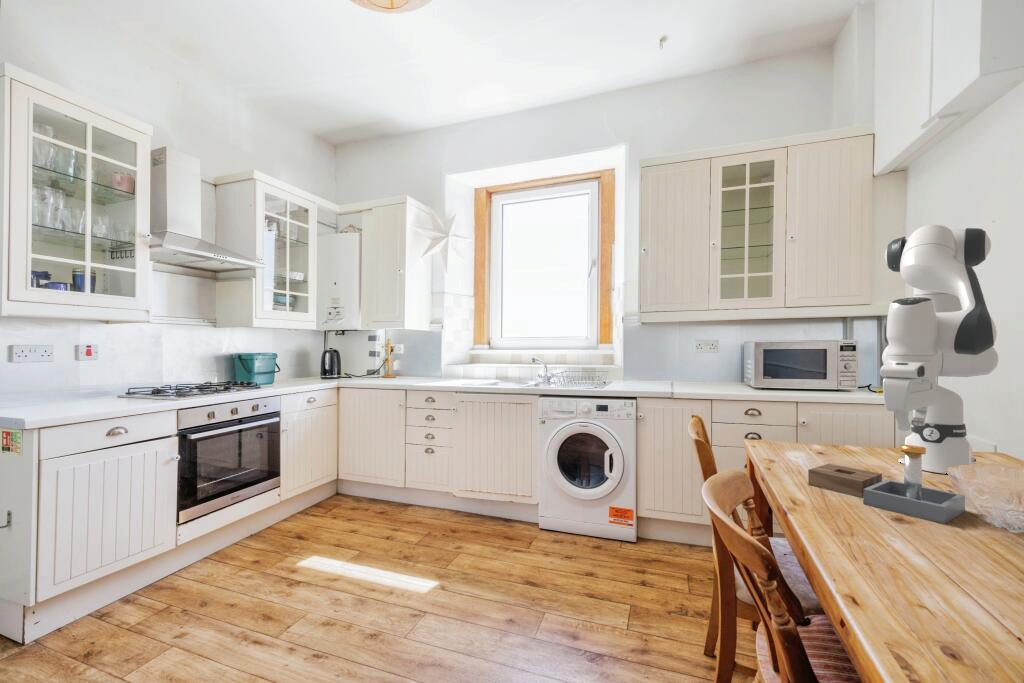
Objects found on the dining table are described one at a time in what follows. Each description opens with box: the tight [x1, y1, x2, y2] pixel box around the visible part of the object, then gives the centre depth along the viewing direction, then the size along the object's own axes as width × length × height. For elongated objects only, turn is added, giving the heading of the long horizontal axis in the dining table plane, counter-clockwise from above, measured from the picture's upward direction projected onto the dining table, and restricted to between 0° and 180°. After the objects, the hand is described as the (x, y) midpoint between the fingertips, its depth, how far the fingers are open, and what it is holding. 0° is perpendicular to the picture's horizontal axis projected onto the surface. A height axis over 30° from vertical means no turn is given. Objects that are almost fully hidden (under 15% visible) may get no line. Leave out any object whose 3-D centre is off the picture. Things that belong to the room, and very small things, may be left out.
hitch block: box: [807, 463, 883, 498], centre depth 117 cm, size 12×12×4 cm
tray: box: [863, 479, 966, 525], centre depth 102 cm, size 14×14×4 cm
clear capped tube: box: [899, 444, 926, 501], centre depth 102 cm, size 4×4×13 cm
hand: (911, 427), depth 103 cm, fingers open, 8 cm apart
